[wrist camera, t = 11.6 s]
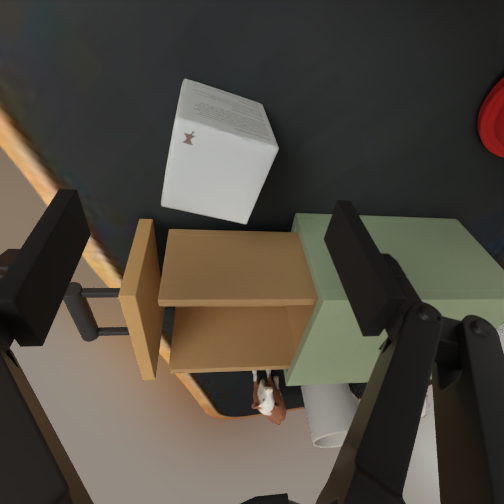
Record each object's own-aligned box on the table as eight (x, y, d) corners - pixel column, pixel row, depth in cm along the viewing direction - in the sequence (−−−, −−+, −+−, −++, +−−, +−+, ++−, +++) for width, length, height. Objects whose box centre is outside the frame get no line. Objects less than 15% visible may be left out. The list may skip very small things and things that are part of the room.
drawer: (103, 308, 36) (80, 383, 30) (70, 216, 27) (27, 296, 21) (288, 306, 40) (302, 374, 33) (314, 224, 30) (341, 295, 24)
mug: (293, 380, 58) (305, 440, 51) (342, 365, 55) (362, 426, 48) (312, 398, 65) (324, 453, 58) (356, 385, 63) (374, 441, 55)
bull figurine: (270, 351, 49) (278, 404, 43) (282, 384, 59) (290, 431, 53) (243, 356, 50) (248, 410, 44) (260, 388, 59) (265, 436, 53)
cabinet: (271, 303, 41) (286, 386, 33) (295, 212, 30) (324, 300, 23) (396, 302, 43) (437, 379, 35) (456, 218, 33) (531, 299, 25)
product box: (168, 154, 25) (157, 207, 20) (183, 74, 21) (174, 114, 16) (240, 173, 27) (247, 226, 22) (265, 103, 23) (281, 147, 18)
